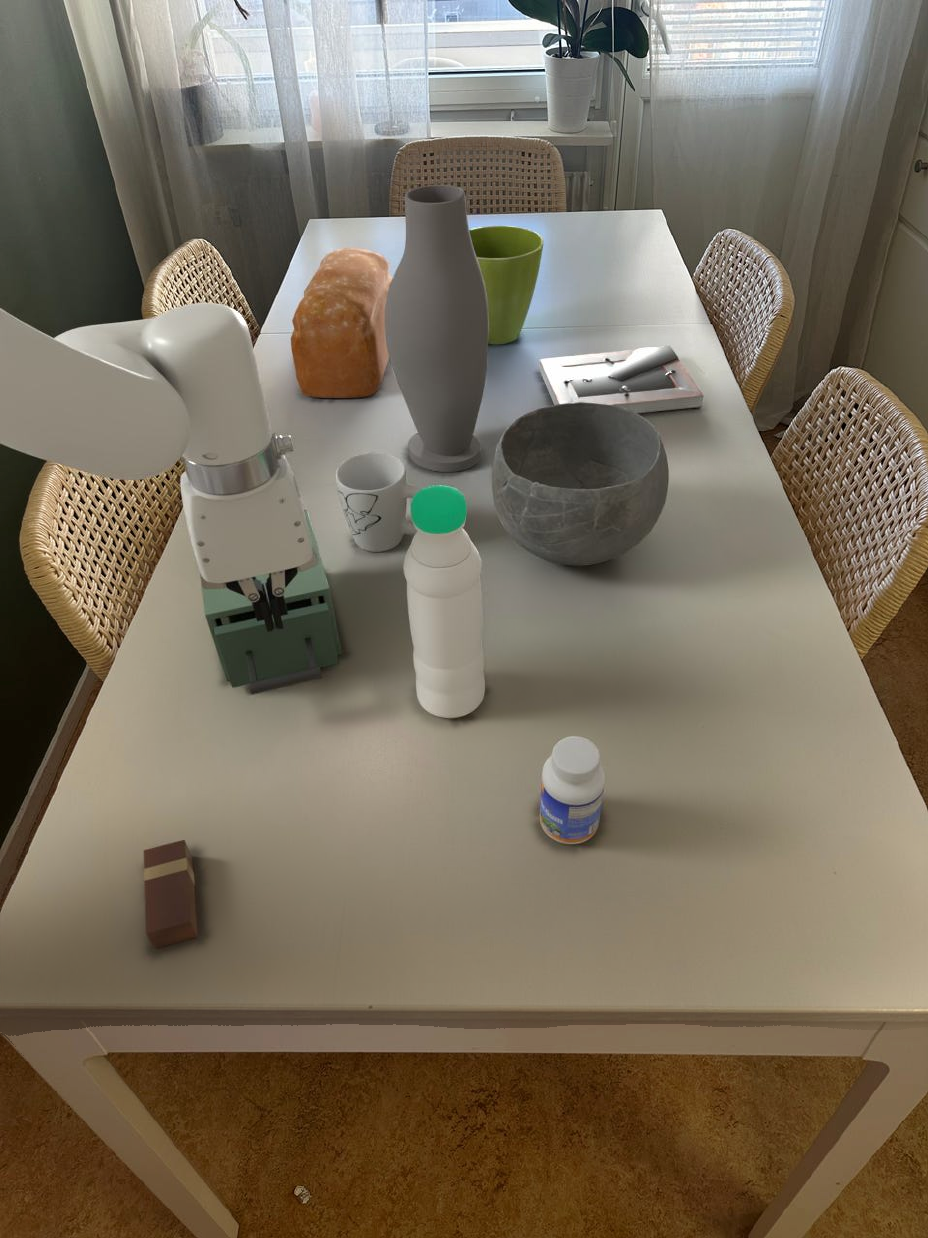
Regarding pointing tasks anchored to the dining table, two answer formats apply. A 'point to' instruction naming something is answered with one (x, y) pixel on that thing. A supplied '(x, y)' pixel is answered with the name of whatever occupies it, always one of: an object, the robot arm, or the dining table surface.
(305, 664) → the drawer
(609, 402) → the picture frame
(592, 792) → the pill bottle
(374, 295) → the bread
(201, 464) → the robot arm
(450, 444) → the vase
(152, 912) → the brown banded block
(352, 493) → the mug
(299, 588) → the cabinet
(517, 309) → the flower pot
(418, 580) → the water bottle
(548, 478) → the bowl
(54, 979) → the dining table surface
